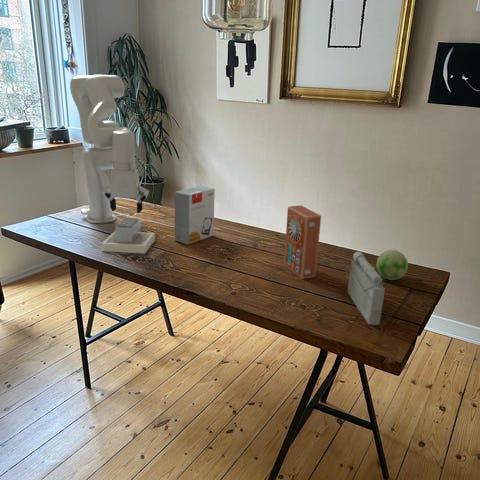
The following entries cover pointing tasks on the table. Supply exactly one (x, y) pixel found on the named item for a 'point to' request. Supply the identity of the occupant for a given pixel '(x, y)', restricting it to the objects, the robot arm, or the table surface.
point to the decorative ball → (392, 265)
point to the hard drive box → (194, 214)
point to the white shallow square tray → (129, 244)
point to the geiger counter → (365, 288)
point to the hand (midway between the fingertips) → (126, 211)
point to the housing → (128, 230)
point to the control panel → (302, 241)
